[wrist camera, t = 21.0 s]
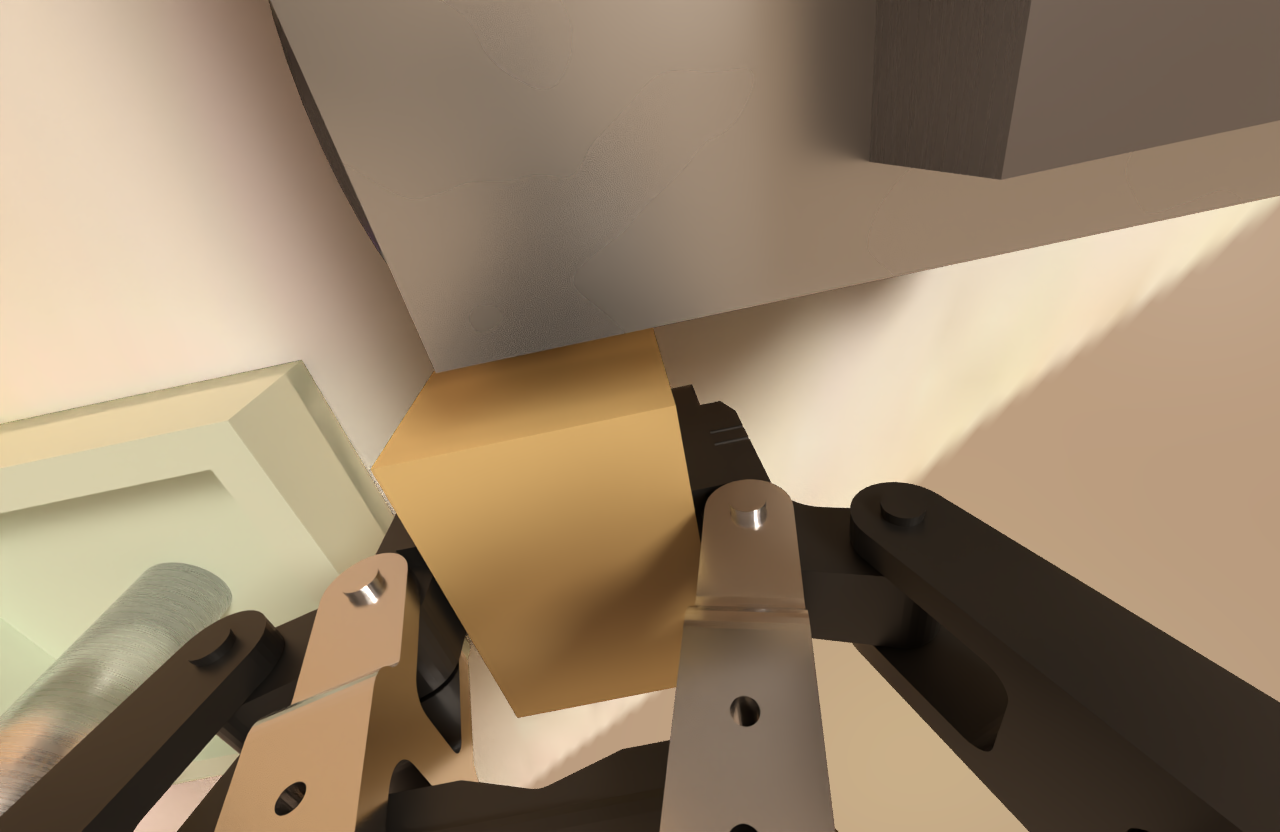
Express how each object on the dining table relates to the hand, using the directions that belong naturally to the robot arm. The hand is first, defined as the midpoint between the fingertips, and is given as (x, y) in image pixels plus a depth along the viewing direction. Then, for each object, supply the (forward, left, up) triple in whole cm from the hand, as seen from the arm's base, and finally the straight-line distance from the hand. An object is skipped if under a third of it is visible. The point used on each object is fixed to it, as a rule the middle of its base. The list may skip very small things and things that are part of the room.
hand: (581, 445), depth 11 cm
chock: (0, 0, -1) cm, 1 cm away
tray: (-13, -4, -3) cm, 14 cm away
